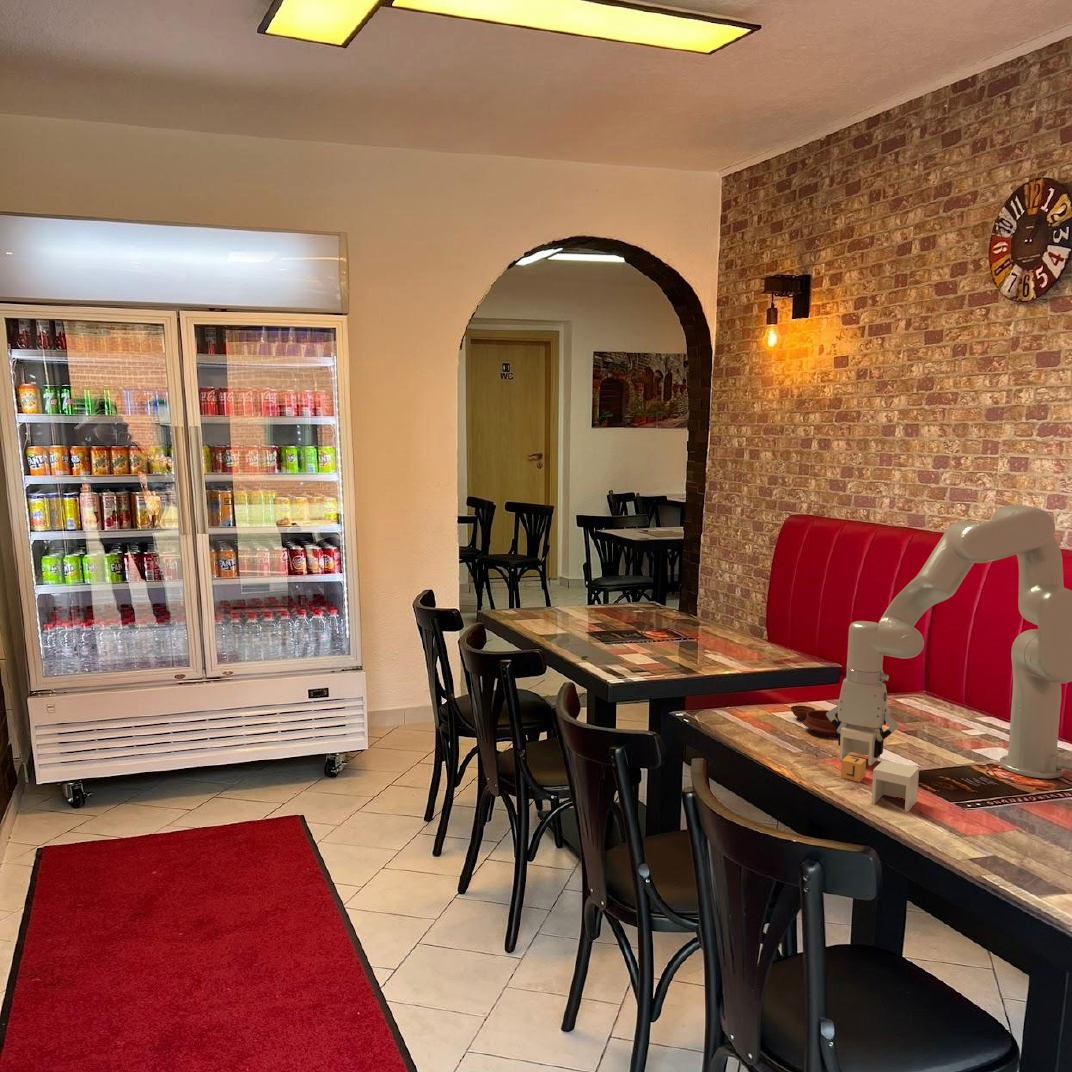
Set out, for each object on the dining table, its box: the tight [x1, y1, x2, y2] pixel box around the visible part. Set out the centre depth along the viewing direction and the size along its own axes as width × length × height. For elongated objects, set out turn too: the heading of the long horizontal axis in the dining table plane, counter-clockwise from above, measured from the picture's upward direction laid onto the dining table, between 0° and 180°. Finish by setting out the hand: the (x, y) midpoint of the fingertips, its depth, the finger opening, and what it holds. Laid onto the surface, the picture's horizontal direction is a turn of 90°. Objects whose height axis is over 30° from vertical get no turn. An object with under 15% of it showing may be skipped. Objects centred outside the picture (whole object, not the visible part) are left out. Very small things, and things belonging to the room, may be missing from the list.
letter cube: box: [840, 754, 867, 783], centre depth 194 cm, size 4×4×4 cm
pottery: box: [790, 705, 841, 737], centre depth 230 cm, size 12×20×4 cm, turn 16°
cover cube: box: [839, 724, 881, 766], centre depth 204 cm, size 7×7×7 cm
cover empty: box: [870, 759, 920, 813], centre depth 180 cm, size 7×7×7 cm
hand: (860, 752), depth 204 cm, fingers closed on cover cube, 6 cm apart
